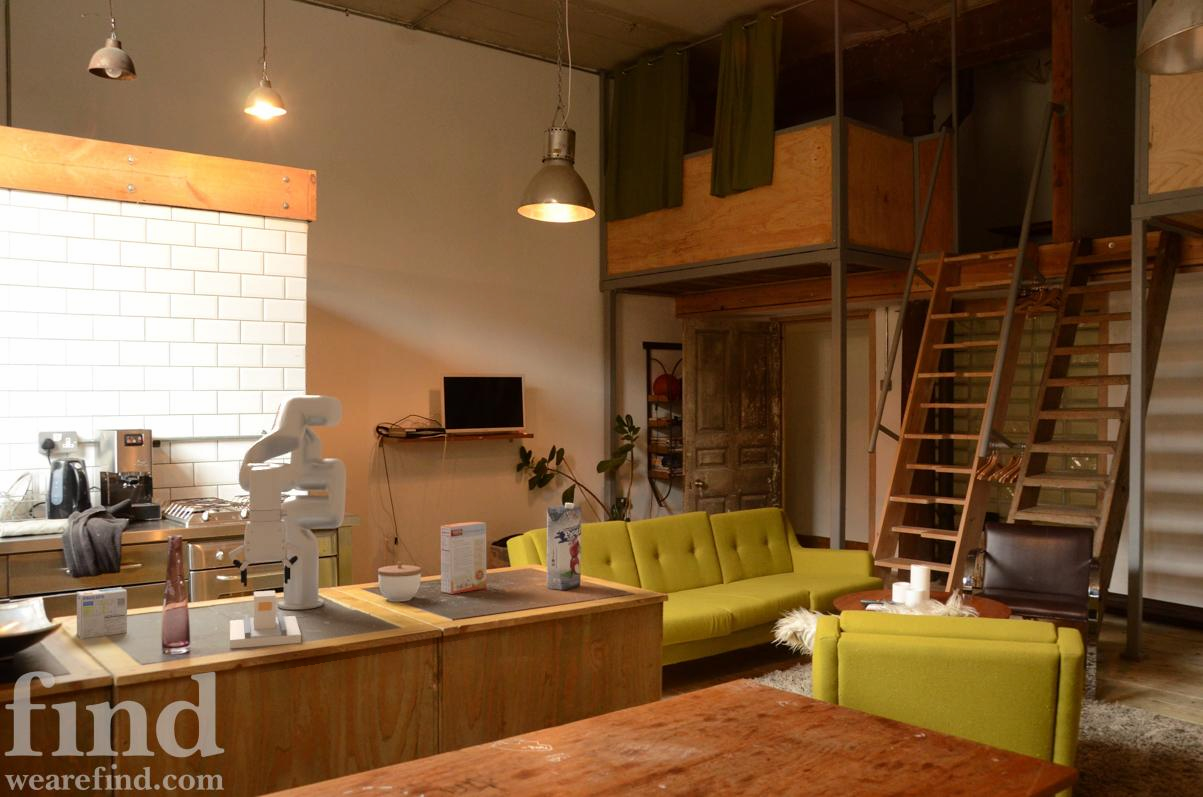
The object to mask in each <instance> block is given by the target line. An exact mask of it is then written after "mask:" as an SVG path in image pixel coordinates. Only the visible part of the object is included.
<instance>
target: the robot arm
mask: <svg viewBox="0 0 1203 797" xmlns="http://www.w3.org/2000/svg"><path fill="white" fill-rule="evenodd" d="M343 416H344V409H343V404H342V402H341V400H340V399H339V398H338V397H337V396H327V395H313V394H312V395H309V394H308V395H307V394H306V395H305V394H304V395H303V394H302V395H301V394H300V395H299V394H298V395H297V394H296V395H295V394H293V395H289V396H286V397H284V398H283V399H281V401H280V403H279V405H278V409H277V412H276V414H275V418H274V421H273V425H272V428H271V431H270V433H268V434H266V435H265V436H262V437H261V438H260V439H259V440H257V441H256V442H255V443H253V444H252V445H251V446H250V447H249V448H248V449H247V451H246V453H245V454H244V457H243V460H242V462H241V465H240V469H239V474H238V482H239V486H240V487H241V489H242V490H243V491H245V492H247V493H249V521H246V523H245V528H244V537H243V539H244V540H243V545H241V546H239V547H237V548H235V549H233V550H231V551H229V552H228V557H229V559H230V560H231V562H232V564H233V565H234V566H235V567H236V568H237V569H239V570H240V583H241V584H243V587H247V586H248V569H247V567H248V566H249V565H250V564H251V563H252V564H253V563H264V562H265V563H268V562H270V563H271V562H280V561H281V562H282V563H283V599H282V600H280V601H278V602H277V607H278V608H279V609H282V610H295V611H296V610H308V609H309V610H310V609H316V608H319V607H322V606H324V604H325V600H324V599H322V598H320V597H319V569H320V568H319V566H320V565H319V564H320V563H319V562H320V561H319V560H320V559H319V556H320V555H319V553H320V552H319V549H320V548H319V547H320V546H319V541H318V539H317V537H316V536H315V534H314V533H313V531H312V529H313V530H314V529H315V530H316V529H317V530H318V529H337V528H339V527H341V526H342V524H344V523H343V522H344V520H345V519H344V518H345V509H346V508H345V507H346V493H347V492H346V491H347V468H346V464H345V463H344V462H343V460H341V459H339V458H335V457H334V458H332V457H331V458H330V457H329V458H327V457H326V458H325V457H323V458H322V450H323V449H322V447H323V443H322V439H321V438H320V436H319V435H318V433H316V432H317V431H315V430H314V429H313V428H312V427H336V426H338V425H339V424H340V423H341V421H342V419H343ZM288 453H290V461H289V462H290V463H287V462H268V461H269V460H272V459H275V458H277V457H280V456H284V455H286V454H288ZM293 489H294V490H295V491H300V492H327V493H328V495H327V494H326V495H322V494H321V495H315V494H303V495H302V494H298V495H292V496H289V497H286V498H285V499H284V500H283V501H282V493H288V492H291V491H292V490H293ZM242 552H243V556H244V560H243V561H242V562H241V561H240V560H239V559H238V558H237V555H239V554H241V553H242Z"/></svg>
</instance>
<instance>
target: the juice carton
mask: <svg viewBox="0 0 1203 797" xmlns="http://www.w3.org/2000/svg"><path fill="white" fill-rule="evenodd" d="M581 551H582V507H581V506H577V505H575V504H574V503H572V502H565V503H564V505H559V506H554V507H553V506H552V507H551V506H549V507H548V506H547V507H546V586H547V589H551V590H559V591H568V590H571V589H575V588H578V587H580V586H581V576H582V575H581V574H582V573H581V572H582V570H581V569H582V565H581V563H582V561H581V560H582V558H581V557H582V556H581V555H582V552H581Z"/></svg>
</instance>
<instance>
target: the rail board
mask: <svg viewBox="0 0 1203 797" xmlns="http://www.w3.org/2000/svg"><path fill="white" fill-rule="evenodd" d="M301 643H302V634H301V631H300V627H299V624H298V620H297V618H296V616H295V615H292V616H291V615H289V616H284V614H283V611H277V612H276V628H268V629H255V630H254V616H253V617H250V615H249V613H244V614H243V619H234V620H233V619H232V620H230V621H229V649H239V648H242V649H243V648H252V647H253V648H255V647H266V646H278V645H288V644H290V645H291V644H301Z"/></svg>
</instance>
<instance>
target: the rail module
mask: <svg viewBox="0 0 1203 797" xmlns="http://www.w3.org/2000/svg"><path fill="white" fill-rule="evenodd" d="M276 603H277V596H276V591H275V590H274V589H273V590H264V591H263V590H260V591H259V590H258V591H253V617H254V630H255V629H268V628H276V616H277V612H276V611H277V610H276V608H277V606H276V605H277V604H276Z"/></svg>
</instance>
